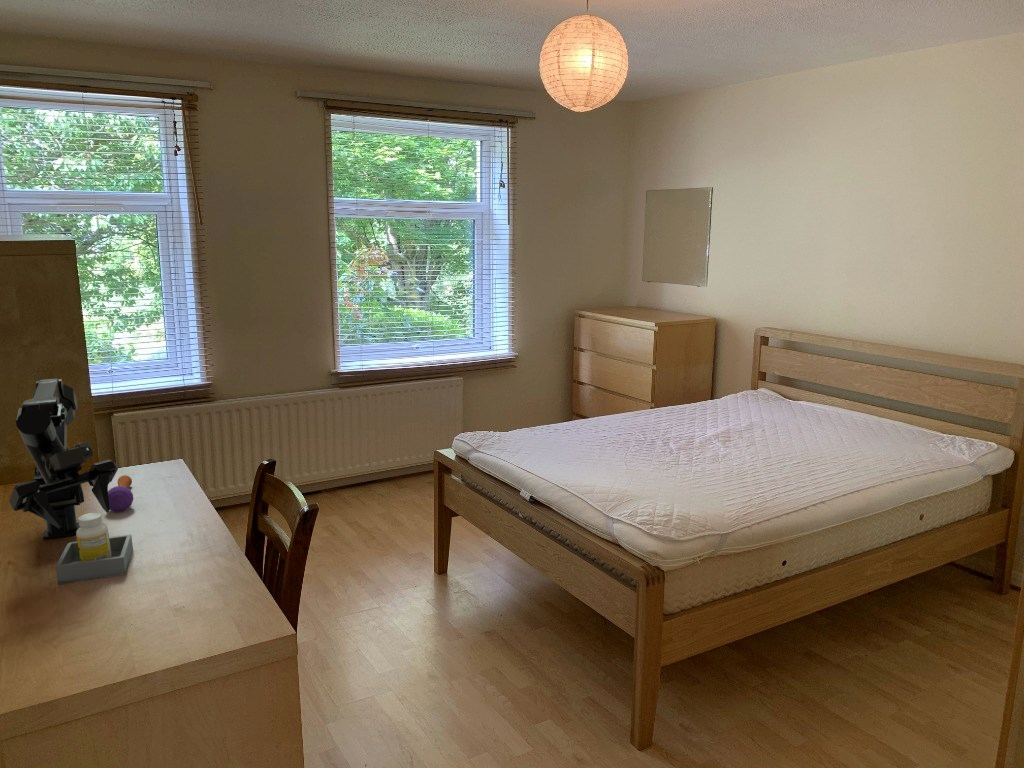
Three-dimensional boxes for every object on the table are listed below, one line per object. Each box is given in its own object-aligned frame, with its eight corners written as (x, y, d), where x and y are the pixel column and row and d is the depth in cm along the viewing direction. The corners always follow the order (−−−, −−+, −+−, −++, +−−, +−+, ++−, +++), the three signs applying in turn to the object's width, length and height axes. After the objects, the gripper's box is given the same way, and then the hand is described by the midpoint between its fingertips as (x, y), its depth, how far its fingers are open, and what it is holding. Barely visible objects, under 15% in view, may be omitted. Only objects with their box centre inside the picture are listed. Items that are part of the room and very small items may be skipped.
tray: (70, 558, 152) (68, 542, 151) (133, 550, 155) (131, 534, 154) (58, 584, 141) (55, 567, 140) (125, 574, 145) (123, 557, 144)
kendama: (138, 470, 193) (133, 490, 174) (136, 493, 193) (131, 515, 175) (112, 469, 190) (104, 489, 172) (110, 492, 191) (102, 514, 172)
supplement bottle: (88, 557, 151) (81, 511, 148) (116, 556, 151) (110, 510, 149) (75, 570, 145) (68, 522, 143) (105, 568, 146) (98, 521, 144)
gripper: (6, 444, 140) (43, 513, 136) (107, 421, 154) (143, 483, 151) (-6, 476, 146) (29, 543, 142) (92, 451, 161) (127, 511, 157)
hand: (84, 518), depth 148 cm, fingers open, 9 cm apart
